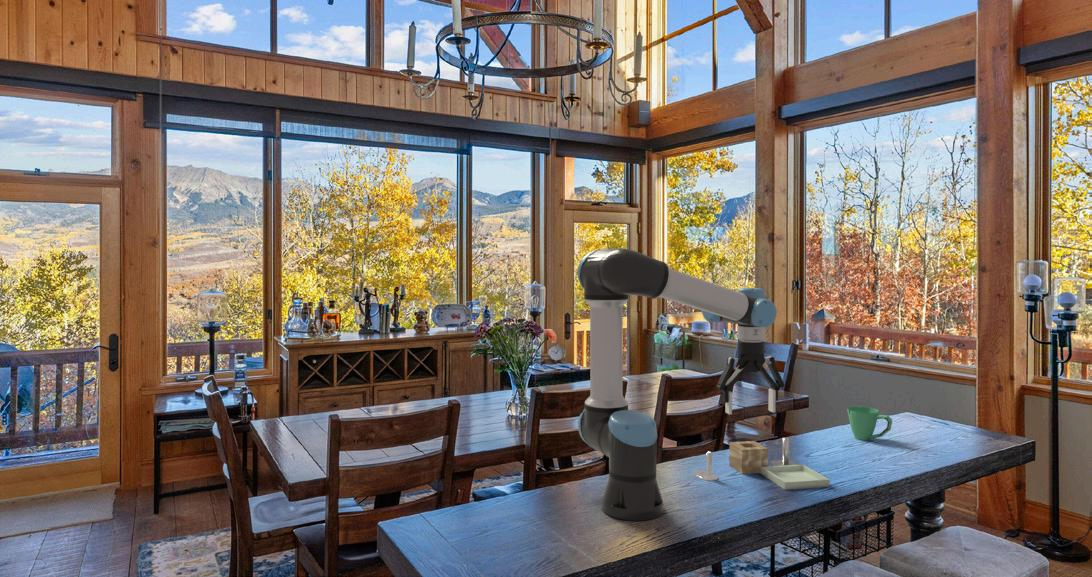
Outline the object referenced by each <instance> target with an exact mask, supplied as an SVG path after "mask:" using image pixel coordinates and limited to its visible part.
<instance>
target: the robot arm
mask: <svg viewBox="0 0 1092 577" xmlns="http://www.w3.org/2000/svg"><path fill="white" fill-rule="evenodd" d="M577 279H578V282H579V284H580V285H581V287H582V288H583V290H584V291H583V293H584V294H583V296H584V299H583V301H584V302H585V303H587V304H588V306H589V314H590V315H589V326H590V328H589V344H590V345H589V346H590V347H589V350H590V352H589V355H590V356H589V357H590V360H589V362H590V364H589V369H590V371H589V372H590V378H589V380H590V381H589V382H590V384H589V387H590V388H589V389H590V390H589V391H590V394H589V396H588V397H587V399H585V401H584V409H583V411H582V412H581V413H580V414H579V417H578V422H577V428H578V433H579V436H580V438H581V440H583V442H584V443H585V444H587V446H589V447H590V448H591V449H593V450H595V451H596V452H599V453H600V454H602V455H604V456H606V457H608V480H607V482H606V486H605V488H604V492H603V495H602V497H601V498H602V499H601V510H602V511H603V512H604V513H605V514H607V515H608V516H610V517H613V518H615V519H619V520H622V521H634V522H635V521H639V522H641V521H648V520H654V519H656V518H658V517H660V516H661V515H662V514H663V513H664V499H663V496H662V493H661V490H660V487H659V483H658V481H657V454H658V453H657V450H658V449H657V448H658V447H657V444H658V442H657V439H658V429H657V423H656V421H655V419H654V418H653V417H652V416H650V415H648V414H647V413H644V412H643V411H642V412H641V411H636V410H633V409H632V410H631V409H629V401H628V400H627V399H626V398H625V397H624V395H623V392H624V391H623V386H624V384H623V378H624V376H623V359H624V358H623V357H624V356H623V355H624V354H623V351H624V350H623V348H624V347H623V342H624V341H623V338H624V337H623V332H624V331H623V327H624V326H623V325H624V323H623V322H624V321H623V317H624V316H623V315H624V314H623V313H624V312H623V308H624V305H625V304H626V303H627V302H628V301H629V295H630V296H640V297H645V298H649V299H653V300H655V299H658V298H662V299H665V300H668V301H672V302H674V303H677V304H681V305H684V306H687V307H690V308H694V309H697V310H701V313H702V316H703V319H704V320H705V321H707V322H708V323H716V324H717V323H718V324H719V323H727V324H728V323H729V324H735V325H737V340H738V341H737V357H731V356H728V357H727V358H726V365H725V367H724V369H723V372H722V373H721V376H720V378H719V380H718V382H717V384H716V385H715V386H716V389H718V390H720V391H722V402H724V403H725V405H724V407H725V410H724V411H725V414H728V415H732V414H733V392H732V391H731V389H732V388H733V387H734V386H735V384H737V382H738V381H739V380H740V378H741V377H742V375H744V374H745V373H746V374H747V373H749V374H750V373H756V374H757V373H759V374H760V375H761V376H762V378H763V380H764V381H765V382H767V384H768V386H769V387H770V388H768V408H767V409H768V411H769V412H771V413H776V401H778V399H779V391H780V390H781V389H782V388H784V387H785V383H784V381H783V378H782V376H781V374H780V372H779V370H778V367H777V365H776V360H775V357H774V356H771V355H767V356H766V357H765V352H766V351H765V347H766V344H765V339H766V338H765V335H766V334H765V332H766V329H765V328H768V327H770V326H771V325H773V324H774V323H775V320H776V319H777V314H778V313H777V311H778V310H777V307H776V304H775V303H774V302H773V301H772V300H770V299H768V298H766V292H765V290H764V289H763V288H761V287H740V288H739V289H738V291H737V290H734V289H731V288H727V287H724V286H722V285H719V284H716V283H713V282H710V281H709V280H704V279H701V278H698V277H696V276H692V275H690V274H687V273H684V272H681V271H678V270H675V269H672V268H670V266H669V265H668V263H666V262H664V261H662V260H659V259H656V258H653V257H652V256H650V255H649V256H648V255H646V254H643V253H641V252H638V251H637V250H633V249H630V248H623V247H620V248H598V249H594V250H591V251H589V252H588V253H586V254H585V255H584V256H583V257H582V259H580V262H579V263H578V267H577ZM765 363H766V364H767V366H768V368H769V371H770V373H771V375H770V374H769V373H768V372H767V370H766V368H765V367H764V364H765ZM736 364H737V367H736V368H735V370H734V367H735V366H736ZM733 370H734V372H733ZM732 372H733V373H732ZM731 374H732V375H731Z"/></svg>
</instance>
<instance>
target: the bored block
mask: <svg viewBox="0 0 1092 577" xmlns="http://www.w3.org/2000/svg"><path fill="white" fill-rule="evenodd" d="M768 450H769V448H767V447H766V446H764V445H762V444H761V443H760V442H757V441H755V440H749V441H748V440H746V441H733V442H732V441H730V442H729V450H728V451H729V463H728V464H729V466H730V467H731V468H733V469H734V470H735V469H736V470H735V471H737V472H738V473H740V474H741V475H743V474H744V475H747V474H761V467H768V465H769V464H768V462H769V461H768V460H769V458H768V454H769V451H768Z"/></svg>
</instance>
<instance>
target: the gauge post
mask: <svg viewBox="0 0 1092 577" xmlns="http://www.w3.org/2000/svg"><path fill="white" fill-rule="evenodd" d="M781 454H782V456H781V457H782V459H777V460H774V459H773V460H771V461H770V464H771V465H772V466H786V465H799V464H798V463H796V462H795V461H793V460H791V459H790V437H782V453H781Z"/></svg>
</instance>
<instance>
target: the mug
mask: <svg viewBox="0 0 1092 577" xmlns="http://www.w3.org/2000/svg"><path fill="white" fill-rule="evenodd" d="M846 411H847V415H848V416H847V417H848V420H849V426H850V429H851V432H852V434H853V437H854V439H855V440H856V439H857V440H860V441H870V440H872V439H877V438H881V437H883V436H884V435H885V434H887V433H888V432H889V431H891V430H892V424H893V420H892V418H891V417H890V416H889V415H885V414H880V411H879V409H877V408H873V407H868V406H849V407H847V410H846ZM878 420H886V423H887V425H886V427H885V429H883V431H881V432H880V433H876V434H874V433H875V432H874V431H875V428H876V426H877V422H878Z"/></svg>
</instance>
